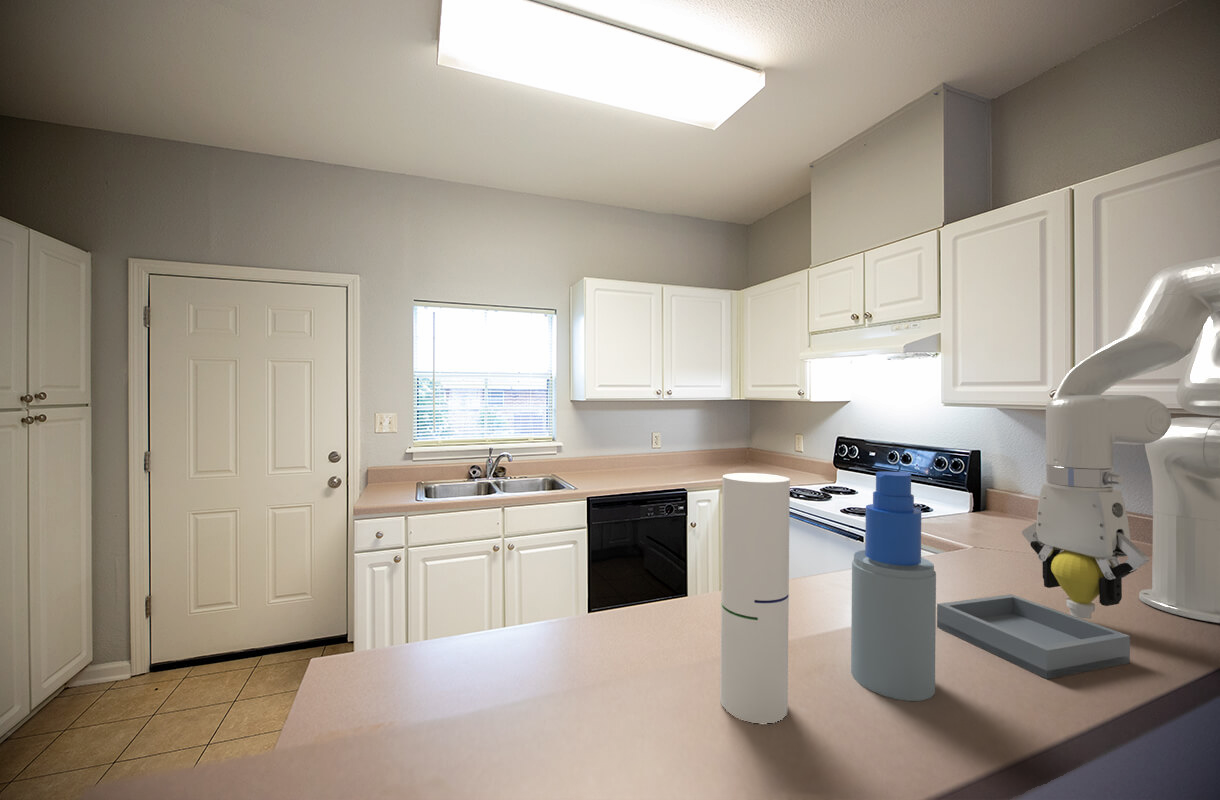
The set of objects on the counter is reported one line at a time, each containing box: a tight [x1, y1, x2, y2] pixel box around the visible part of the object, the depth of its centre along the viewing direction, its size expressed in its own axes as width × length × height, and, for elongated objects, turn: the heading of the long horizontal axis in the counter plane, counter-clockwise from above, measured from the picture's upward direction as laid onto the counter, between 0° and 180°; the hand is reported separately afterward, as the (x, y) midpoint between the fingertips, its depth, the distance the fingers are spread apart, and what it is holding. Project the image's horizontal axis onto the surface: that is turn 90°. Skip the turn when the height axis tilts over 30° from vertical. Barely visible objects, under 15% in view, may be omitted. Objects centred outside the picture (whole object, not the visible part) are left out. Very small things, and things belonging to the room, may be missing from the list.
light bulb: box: [1051, 550, 1104, 620], centre depth 79 cm, size 7×7×10 cm
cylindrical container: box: [719, 472, 791, 725], centre depth 57 cm, size 7×7×25 cm
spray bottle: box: [850, 471, 937, 702], centre depth 62 cm, size 9×9×25 cm
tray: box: [936, 594, 1131, 680], centre depth 72 cm, size 15×15×4 cm
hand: (1080, 594), depth 79 cm, fingers closed on light bulb, 6 cm apart
